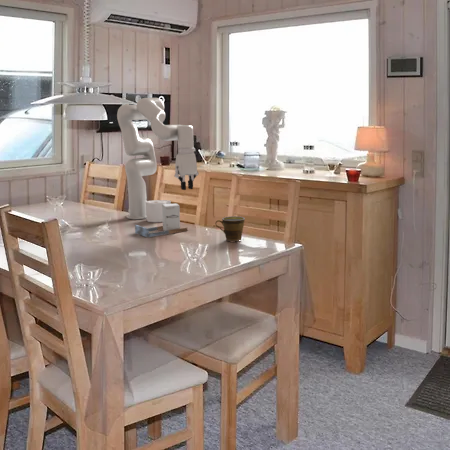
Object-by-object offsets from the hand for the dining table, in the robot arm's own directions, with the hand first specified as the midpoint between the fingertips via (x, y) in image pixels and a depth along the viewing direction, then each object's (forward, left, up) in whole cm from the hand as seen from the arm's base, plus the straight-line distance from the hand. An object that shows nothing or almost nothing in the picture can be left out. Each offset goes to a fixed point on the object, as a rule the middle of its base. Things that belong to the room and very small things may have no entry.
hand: (187, 188), depth 300 cm
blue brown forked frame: (0, -15, -19) cm, 24 cm away
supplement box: (0, -10, -20) cm, 22 cm away
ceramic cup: (+36, -1, -19) cm, 41 cm away
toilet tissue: (-26, -2, -19) cm, 33 cm away
